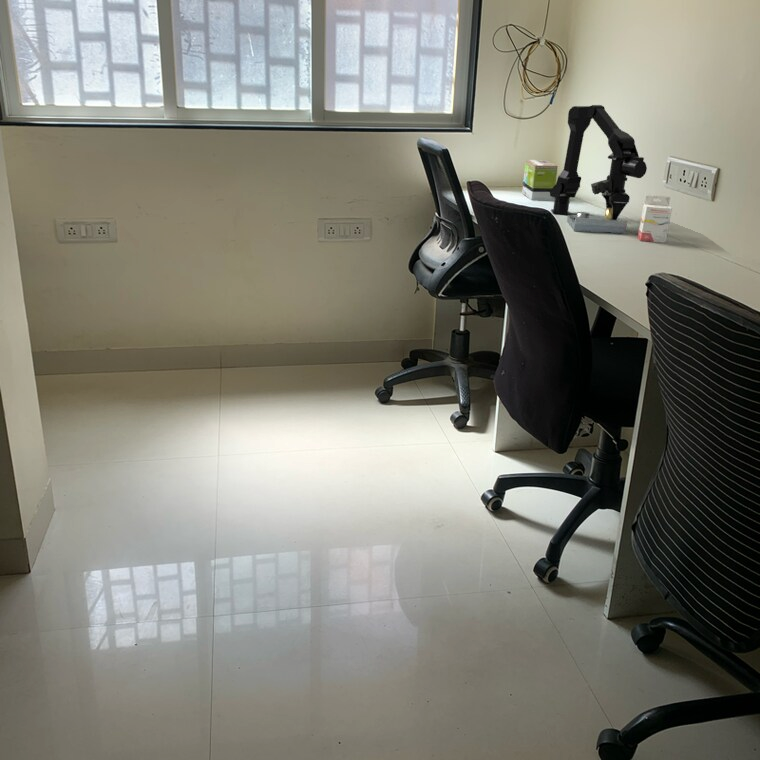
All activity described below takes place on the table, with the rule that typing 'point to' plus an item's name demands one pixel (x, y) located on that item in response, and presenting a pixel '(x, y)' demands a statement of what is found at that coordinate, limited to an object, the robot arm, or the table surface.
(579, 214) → the steel bushing
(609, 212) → the cylinder
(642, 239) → the ink cartridge box
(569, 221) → the jig plate
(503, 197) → the table surface
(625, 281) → the table surface
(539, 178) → the tea box
